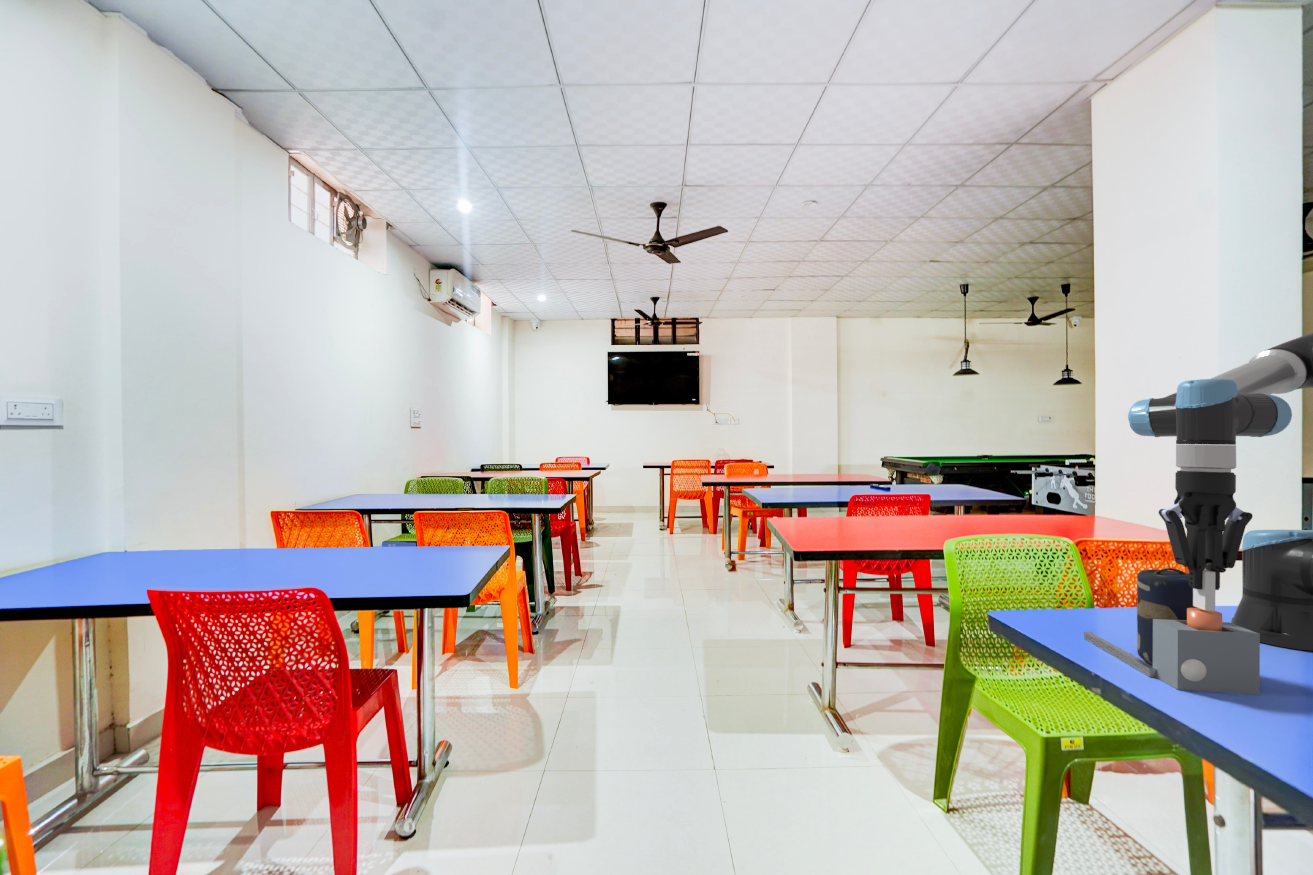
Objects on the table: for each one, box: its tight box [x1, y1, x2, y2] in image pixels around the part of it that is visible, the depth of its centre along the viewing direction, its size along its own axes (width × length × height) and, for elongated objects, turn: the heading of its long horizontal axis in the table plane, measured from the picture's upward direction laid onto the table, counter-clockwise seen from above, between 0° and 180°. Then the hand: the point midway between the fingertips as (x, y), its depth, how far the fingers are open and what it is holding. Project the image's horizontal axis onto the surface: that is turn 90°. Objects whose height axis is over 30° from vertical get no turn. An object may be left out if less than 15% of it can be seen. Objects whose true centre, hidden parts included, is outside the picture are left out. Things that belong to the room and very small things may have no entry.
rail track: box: [1083, 631, 1158, 679], centre depth 111 cm, size 15×20×2 cm
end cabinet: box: [1152, 619, 1261, 696], centre depth 99 cm, size 12×6×10 cm, turn 81°
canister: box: [1136, 567, 1197, 665], centre depth 108 cm, size 10×10×18 cm
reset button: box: [1187, 608, 1223, 631], centre depth 100 cm, size 4×4×4 cm
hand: (1203, 608), depth 100 cm, fingers closed
